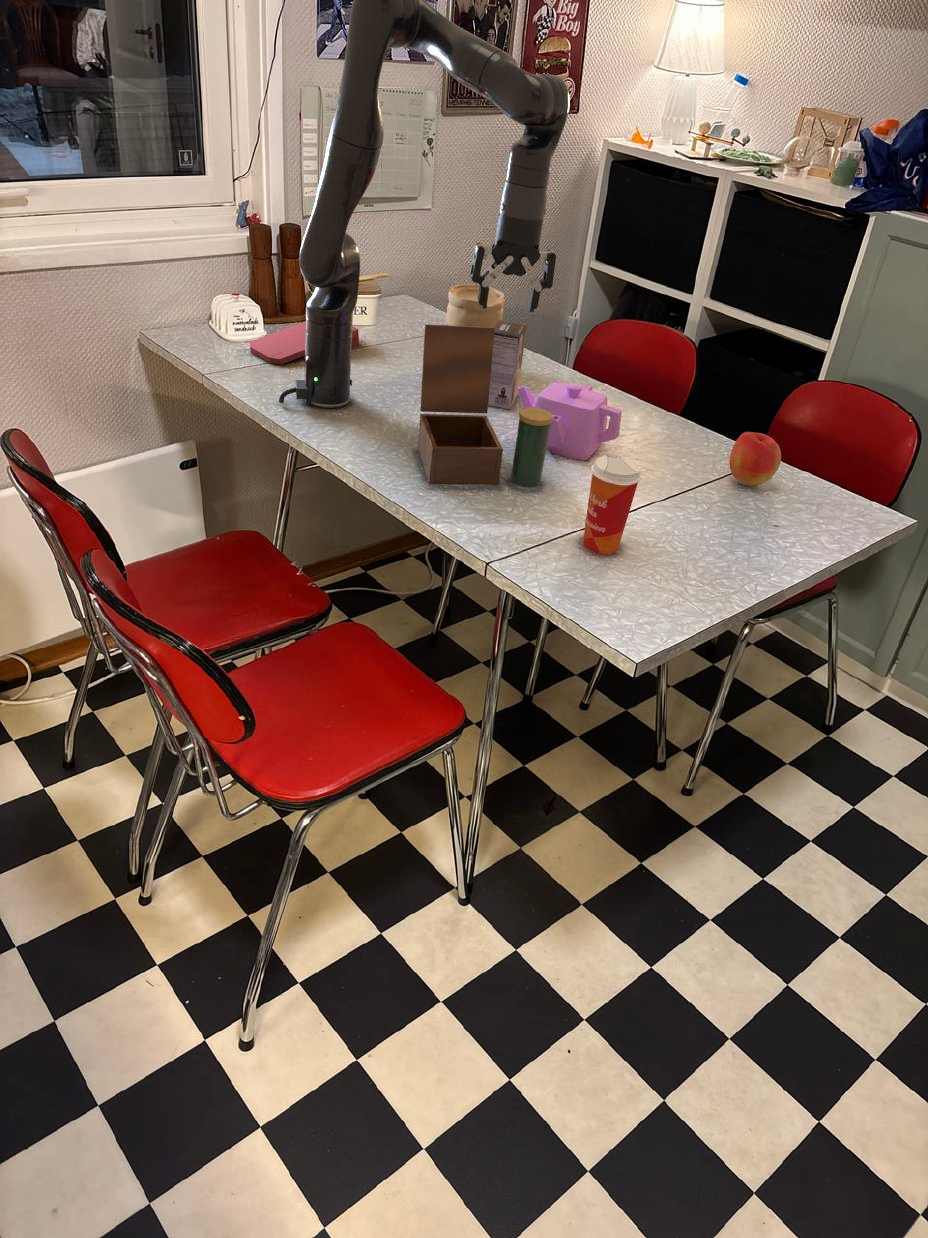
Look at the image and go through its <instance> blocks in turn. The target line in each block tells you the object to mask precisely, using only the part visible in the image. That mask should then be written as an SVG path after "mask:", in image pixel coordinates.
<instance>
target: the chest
mask: <svg viewBox="0 0 928 1238" xmlns="http://www.w3.org/2000/svg"><path fill="white" fill-rule="evenodd" d="M417 451H418V454H419V457H420V461H421V463H422V466H423V468H424V473H425V476H426V479H427V481H428V484H429V485H474V486H475V485H477V486H478V485H479V486H480V485H482V486H483V485H484V486H485V485H488V486H491V485H492V486H498V485H499V481H500V475H501V467H502V462H503V461H502V459H503V454H504V453H503V452H504V448H503V446H502V444H501V442H500V440H499V437H498V436H497V435H496V432H495V429H494V427H493V426H492V424H491V421H490V420H489V417H488V416H487V415H482V414H481V415H480V414H449V413H448V414H446V413H443V414H442V413H420V416H419V427H418V439H417Z"/></svg>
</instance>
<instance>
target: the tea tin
mask: <svg viewBox="0 0 928 1238" xmlns="http://www.w3.org/2000/svg"><path fill="white" fill-rule="evenodd" d="M552 417H553V416H552V414H551V413H550V412H549V411H547V410H545V409H541V408H536V407H527V408H523V407H522V408H521V409H520V410H519V414H518V418H519V419H518V426H517V433H516V439H515V446H514V453H513V458H512V459H513V460H512V466H511V473H510V482H511V483H513V484H514V485H515V486H519V487H521V488H536V487H538V486H540V485H541V483H542V482H541V481H542V477H543V471H544V470H543V469H544V464H545V458H546V452H547V448H546V447H547V441H548V435H549V429H550V424H551V422H552Z"/></svg>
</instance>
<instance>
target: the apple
mask: <svg viewBox="0 0 928 1238" xmlns="http://www.w3.org/2000/svg"><path fill="white" fill-rule="evenodd" d="M728 461H729V463H728V464H729V469H730V472H731V475H732V476H733V478H734V479H735V480H736V481H737V482H739V483H740V484H742V485H744V486H752V487H753V486H759V485H763V484H764V483H767V482H768V481H769V480H771V479H772V478H773V476H775V474H776V473H777V471H778V470H779V468H780V466H781V462H782V452H781V447H780V445H779V444H778V443H777V442H776V441H775V439H774V438H773V437H770V436H769V435H767V434H764V433H760V432H754V431H753V432H752V431H744V432H743V433H741V435H739V437H738V438H737V439H736V441H735V442H734V443H733V446H732V449H731V451H730V455H729V460H728Z"/></svg>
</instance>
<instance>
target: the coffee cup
mask: <svg viewBox="0 0 928 1238" xmlns="http://www.w3.org/2000/svg"><path fill="white" fill-rule="evenodd" d="M590 471H591V480H590V488H589V494H588V502H587V509H586V514H585V515H586V516H585V522H584V523H585V524H584V531H583V539H582V540H583V541H582V543H583V546H584V548H585V549H587V550H588V551H590V552H592V553H594V554H598V555H613V554H615V553H616V552H618V549H619V547H620V544H621V540H622V538H623V534H624V532H625V527H626V526H627V525H626V524H627V521H628V518H629V514H630V511H631V508H632V504H633V502H634V498H635V495H636V491H637V488H638V484H639V482H641V480H642V478H643V477H642V476H643V475H642V473H641V467H640V465H639V463H637V462H636V461H634V460H633V459H630V458H628V457H625V456H620V457H618V456H617V455H610V456H608V455H607V454H606V455H602V456H599V457H598V458H596V459H595V461H594V463H593V464H592V466H591V467H590Z"/></svg>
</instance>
